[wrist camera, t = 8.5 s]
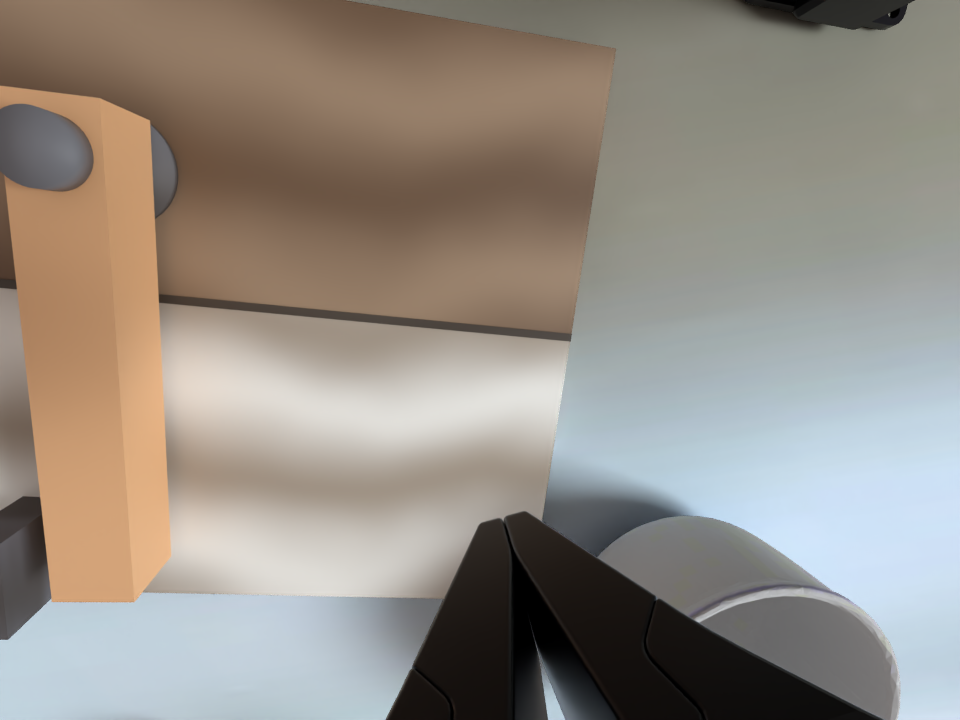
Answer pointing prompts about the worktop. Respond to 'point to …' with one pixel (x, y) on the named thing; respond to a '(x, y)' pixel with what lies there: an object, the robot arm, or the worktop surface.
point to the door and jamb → (328, 281)
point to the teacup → (763, 605)
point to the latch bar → (90, 336)
